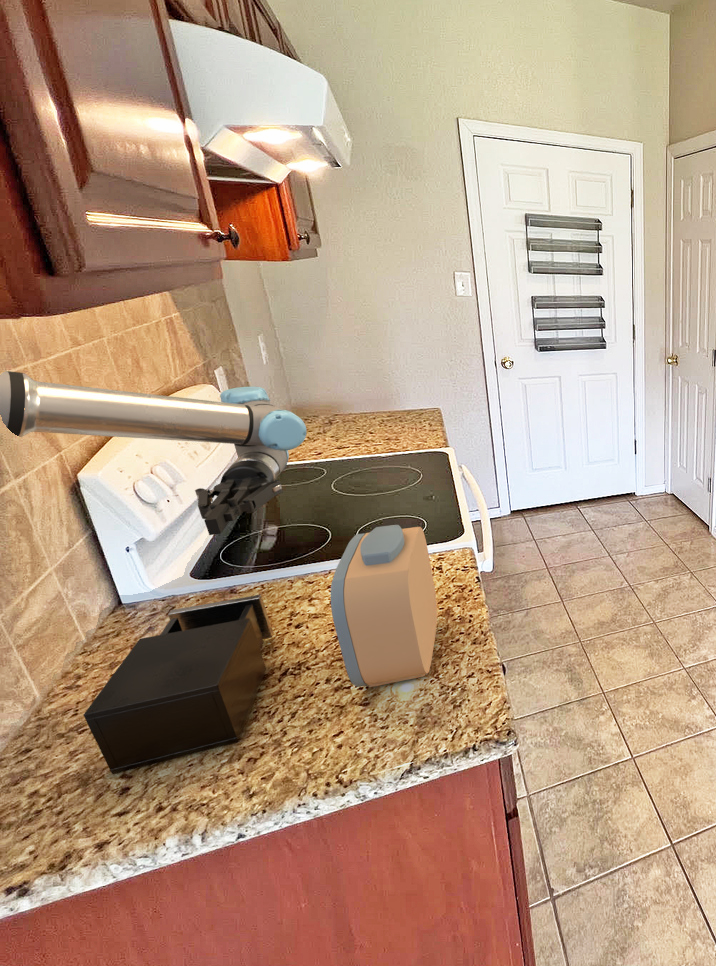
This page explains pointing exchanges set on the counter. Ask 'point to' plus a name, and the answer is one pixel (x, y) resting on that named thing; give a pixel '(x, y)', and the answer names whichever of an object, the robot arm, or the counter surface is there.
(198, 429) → the robot arm
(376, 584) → the alarm clock
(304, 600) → the counter surface
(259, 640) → the drawer
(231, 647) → the cabinet
